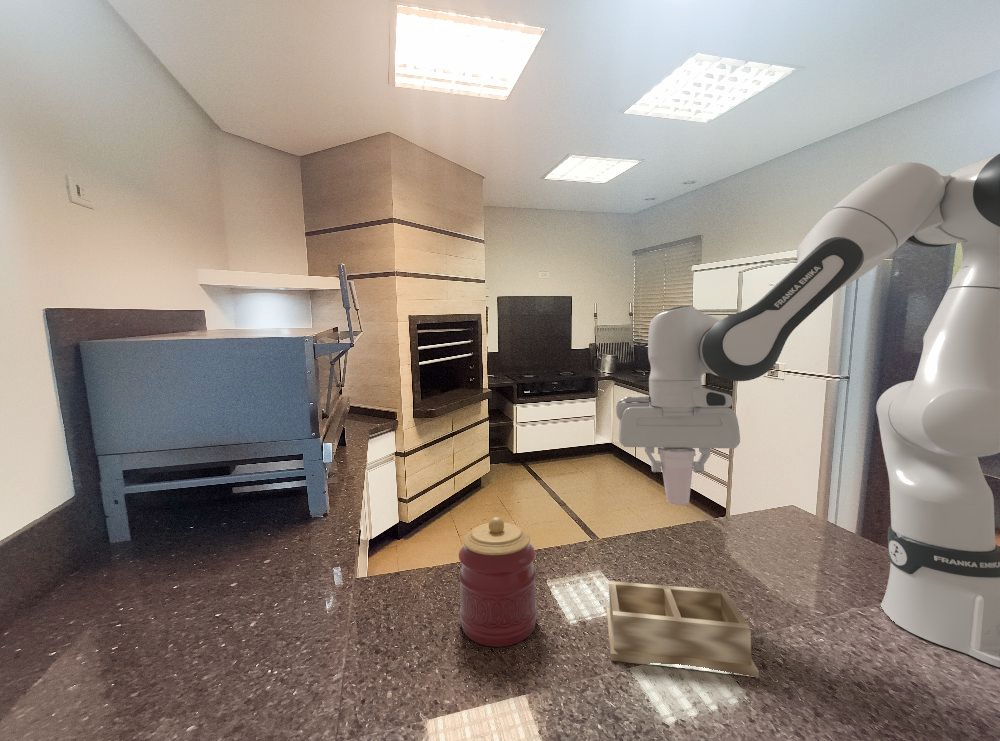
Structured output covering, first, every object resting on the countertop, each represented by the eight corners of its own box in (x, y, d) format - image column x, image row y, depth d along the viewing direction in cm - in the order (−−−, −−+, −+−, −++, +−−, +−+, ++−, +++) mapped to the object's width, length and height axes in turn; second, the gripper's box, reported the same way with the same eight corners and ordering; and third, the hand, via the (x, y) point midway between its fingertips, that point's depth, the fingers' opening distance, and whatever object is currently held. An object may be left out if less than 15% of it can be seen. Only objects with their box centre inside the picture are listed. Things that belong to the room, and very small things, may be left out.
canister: (462, 654, 59) (459, 536, 59) (458, 604, 72) (455, 507, 72) (546, 643, 61) (543, 529, 61) (527, 596, 74) (525, 502, 74)
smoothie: (701, 508, 68) (699, 427, 68) (662, 506, 69) (660, 427, 69) (691, 496, 74) (689, 422, 74) (655, 495, 76) (653, 422, 76)
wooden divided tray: (727, 624, 64) (726, 587, 64) (759, 678, 53) (757, 633, 53) (606, 612, 68) (605, 577, 68) (611, 660, 57) (610, 618, 57)
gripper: (617, 398, 71) (619, 474, 71) (742, 396, 67) (745, 478, 67) (614, 395, 77) (616, 466, 77) (729, 394, 73) (731, 469, 73)
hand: (677, 471), depth 72 cm, fingers closed on smoothie, 6 cm apart
